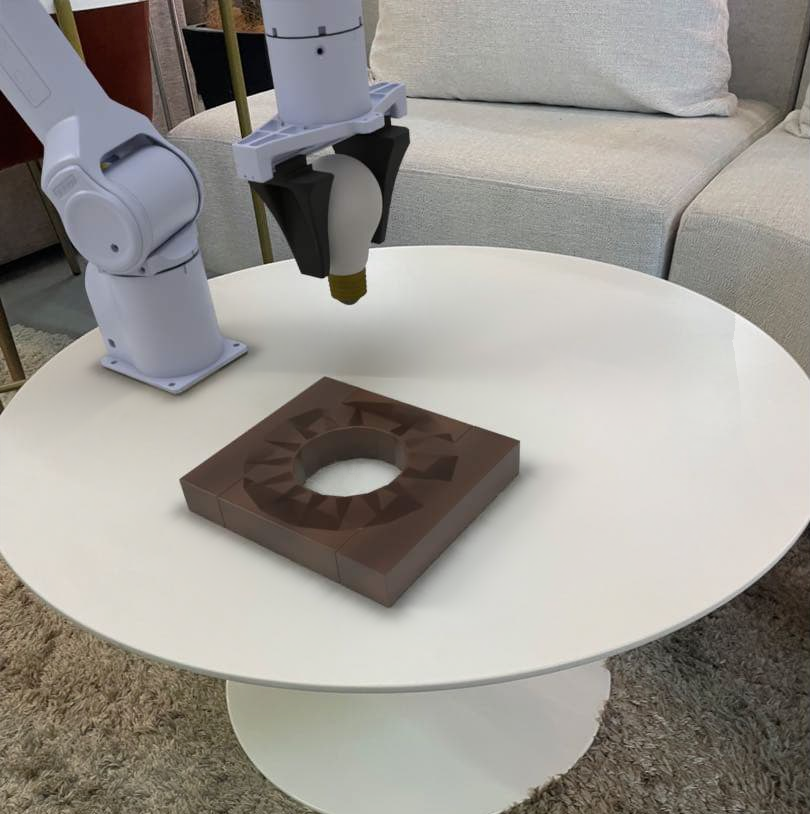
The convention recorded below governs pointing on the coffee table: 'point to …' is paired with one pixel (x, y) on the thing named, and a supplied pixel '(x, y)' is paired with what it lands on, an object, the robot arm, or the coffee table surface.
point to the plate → (364, 513)
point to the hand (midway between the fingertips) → (343, 257)
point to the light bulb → (350, 223)
